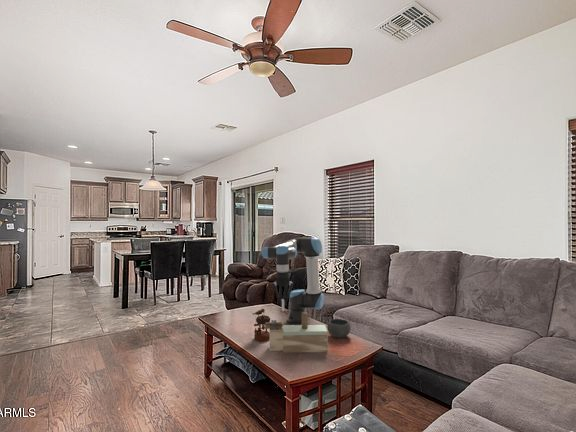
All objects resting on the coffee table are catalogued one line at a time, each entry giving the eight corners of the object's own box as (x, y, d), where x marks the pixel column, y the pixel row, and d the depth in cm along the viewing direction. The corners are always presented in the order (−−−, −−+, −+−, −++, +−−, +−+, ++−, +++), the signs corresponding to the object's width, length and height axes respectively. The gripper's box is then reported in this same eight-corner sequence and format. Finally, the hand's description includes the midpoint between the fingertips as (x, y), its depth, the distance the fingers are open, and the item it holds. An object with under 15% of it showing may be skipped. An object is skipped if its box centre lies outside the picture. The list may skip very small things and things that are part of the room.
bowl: (353, 335, 214) (353, 320, 214) (345, 342, 201) (345, 326, 201) (333, 331, 221) (332, 316, 222) (324, 338, 209) (324, 322, 209)
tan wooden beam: (265, 327, 193) (265, 322, 193) (281, 327, 193) (281, 322, 193) (265, 328, 191) (265, 323, 191) (281, 328, 191) (281, 323, 191)
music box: (260, 344, 199) (258, 311, 201) (249, 341, 207) (247, 309, 208) (277, 337, 210) (275, 306, 212) (266, 335, 218) (265, 305, 219)
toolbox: (270, 344, 198) (270, 318, 198) (325, 344, 198) (324, 317, 199) (269, 352, 186) (269, 324, 186) (327, 352, 186) (327, 323, 187)
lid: (283, 328, 198) (282, 310, 198) (324, 327, 198) (324, 310, 199) (283, 335, 186) (282, 316, 186) (327, 334, 186) (327, 315, 187)
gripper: (271, 272, 189) (272, 312, 189) (293, 272, 189) (294, 312, 189) (272, 270, 197) (272, 308, 196) (293, 270, 197) (293, 308, 196)
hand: (283, 310), depth 193 cm, fingers closed
